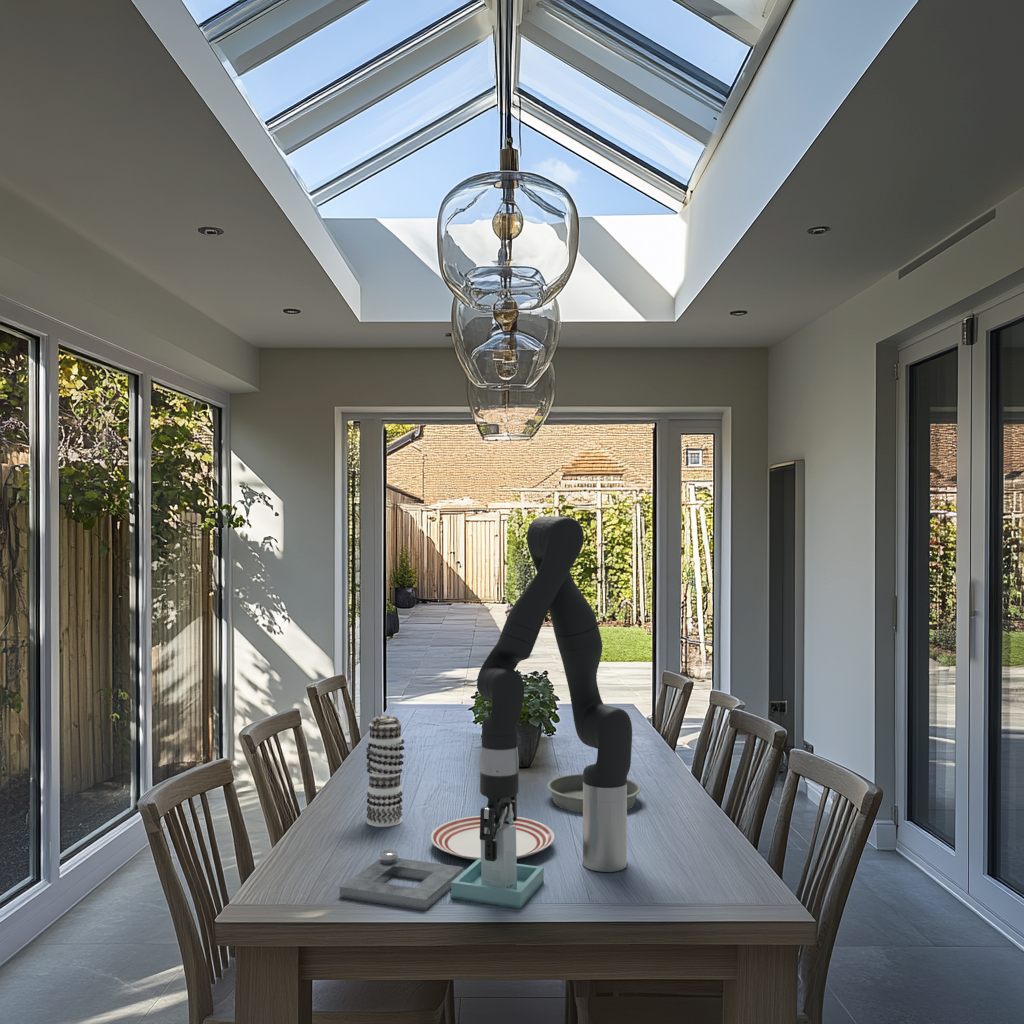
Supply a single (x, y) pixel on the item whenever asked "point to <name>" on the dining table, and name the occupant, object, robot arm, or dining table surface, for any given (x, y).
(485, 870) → the skincare box
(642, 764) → the dining table surface
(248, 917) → the dining table surface
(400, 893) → the socket block
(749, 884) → the dining table surface
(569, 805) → the cake pan
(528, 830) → the dinner plate
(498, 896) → the tray
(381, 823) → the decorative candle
